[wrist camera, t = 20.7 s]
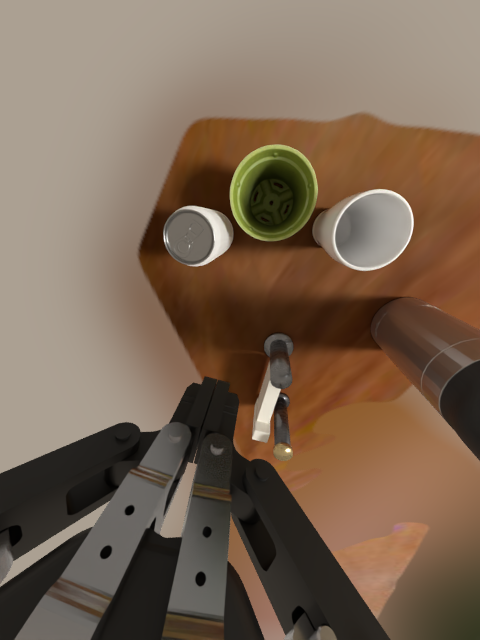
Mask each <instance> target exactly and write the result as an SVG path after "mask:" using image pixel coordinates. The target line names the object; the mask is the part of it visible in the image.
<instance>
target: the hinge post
mask: <svg viewBox="0 0 480 640" xmlns="http://www.w3.org/2000/svg"><path fill="white" fill-rule="evenodd" d="M264 350H265V352H266V354H267V355H268V356H269V357H270V382H271V384H272V385H273V386H274V387H276V388H278V389H284V388H287V387H289V386H290V385H291V383H292V374H291V368H290V361H289V356H290V355H291V353H292V351H293V342H292V340H291V338H290V337H289V336H288V335H286V334H284V333H274V334H271V335H270V336H268V337H267V339H266V340H265V343H264Z"/></svg>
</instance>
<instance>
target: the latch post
mask: <svg viewBox="0 0 480 640" xmlns="http://www.w3.org/2000/svg"><path fill="white" fill-rule="evenodd" d="M289 403H290V402H289V397H288V396H287V395H286V394H284V393H279V396H278V399H277V401H276V404H275V407H274V436H275V446H274V456H275V458H276V459H278V460H281V461H287V460H289V459H291V458H292V456H293V452H292V447H291V445H290V435H289V425H288V414H287V407H288V406H289Z"/></svg>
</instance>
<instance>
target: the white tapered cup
mask: <svg viewBox="0 0 480 640" xmlns="http://www.w3.org/2000/svg"><path fill="white" fill-rule="evenodd" d="M413 224H414V223H413V214H412V210H411V208H410V206H409V204H408V203H407V201H406V200H405V199H404V198H403V197H402V196H400V195H399V194H397V193H395V192H393V191H390V190H384V189H375V190H370V191H364V192H360V193H357V194H354V195H351V196H349V197H347V198H345V199H343V200H341V201H340V202H338V203H337V204H335V205H334V206H332V207H331V208H329V209H327V210H325V211H323V212H322V213H321V214H319V216H318V217H317V218H316V220H315V222H314V224H313V229H312V233H313V237H314V240H315V241H316V243H317V244H318V245H320V246H321V247H322V248H323V249H324V250H325V251H326V253H327V254H328V255H329V256H330V257H331V258H333V259H334V260H335V261H337V262H339V263H340V264H342V265H344V266H347V267H350V268H352V269H355V270H361V271H369V270H375V269H378V268H381V267H383V266H385V265H387V264H389V263H391V262H392V261H393V260H395V259H396V258H397V257H398V256H399V255H400V254H401V253H402V252H403V250H404V249H405V248H406V246H407V244H408V242H409V240H410V238H411V235H412V231H413Z"/></svg>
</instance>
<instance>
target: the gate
mask: <svg viewBox="0 0 480 640" xmlns="http://www.w3.org/2000/svg"><path fill="white" fill-rule="evenodd" d="M280 390H281V389H278V388H276V387H274V386H273V385H272V384H271V382H270V362H269V365H268V368H267V371H266V375H265V378H264V381H263V384H262V388H261V391H260V394H259V397H258V398H257V400H256V404H255V409H254V422H253V434H252V439H254V440H258V441H262V442H266V443H267V441H268V438H269V435H270V419H271V416H272V413H273V410H274V407H275V404H276V401H277V399H278V396H279V393H280Z"/></svg>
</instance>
